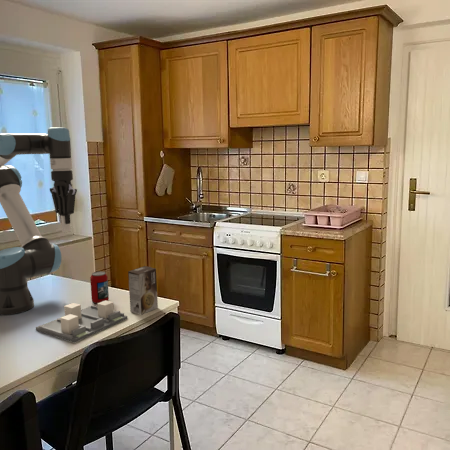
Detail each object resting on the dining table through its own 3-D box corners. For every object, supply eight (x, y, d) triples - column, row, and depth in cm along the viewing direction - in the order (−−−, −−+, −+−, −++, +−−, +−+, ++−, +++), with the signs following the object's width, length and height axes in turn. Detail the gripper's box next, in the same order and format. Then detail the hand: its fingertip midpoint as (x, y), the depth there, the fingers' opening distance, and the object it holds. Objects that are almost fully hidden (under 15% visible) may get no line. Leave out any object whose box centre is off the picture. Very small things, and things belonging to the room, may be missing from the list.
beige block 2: (61, 331, 152) (60, 317, 151) (71, 327, 155) (70, 314, 154) (69, 334, 150) (68, 320, 149) (79, 330, 153) (78, 316, 152)
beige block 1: (65, 319, 163) (64, 306, 162) (74, 315, 166) (73, 302, 165) (72, 321, 161) (71, 308, 160) (81, 317, 164) (80, 304, 163)
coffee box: (146, 304, 180) (144, 265, 177) (158, 307, 176) (156, 268, 173) (129, 311, 173) (127, 271, 170) (141, 315, 169) (139, 273, 166)
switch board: (35, 330, 156) (35, 321, 156) (90, 308, 176) (89, 301, 176) (74, 342, 146) (73, 334, 145) (127, 318, 166) (127, 310, 165)
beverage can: (104, 304, 180) (102, 275, 178) (88, 303, 182) (86, 275, 180) (111, 299, 187) (110, 271, 185) (96, 298, 188) (94, 270, 186)
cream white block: (98, 316, 165) (97, 303, 164) (106, 313, 168) (105, 300, 168) (105, 318, 163) (104, 305, 162) (114, 315, 166) (113, 302, 165)
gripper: (41, 170, 168) (46, 232, 172) (64, 170, 161) (69, 235, 166) (58, 169, 175) (63, 229, 179) (81, 169, 168) (85, 232, 172)
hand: (66, 232), depth 172 cm, fingers closed
